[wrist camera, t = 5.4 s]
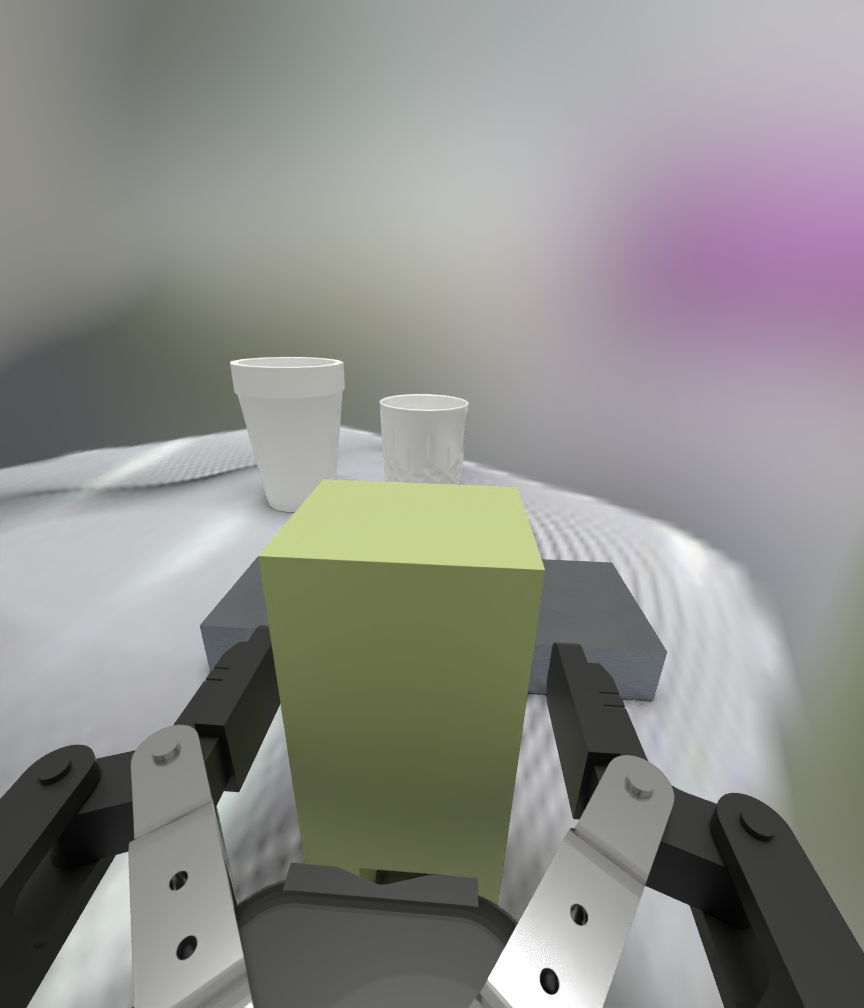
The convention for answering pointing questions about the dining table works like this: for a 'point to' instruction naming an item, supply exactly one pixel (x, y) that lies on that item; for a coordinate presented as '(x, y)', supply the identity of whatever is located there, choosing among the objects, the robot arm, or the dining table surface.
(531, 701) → the dining table surface
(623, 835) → the robot arm
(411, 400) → the white cup
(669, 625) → the dining table surface
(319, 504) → the olive green rectangular block
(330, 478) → the foam cup
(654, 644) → the grey flat block
